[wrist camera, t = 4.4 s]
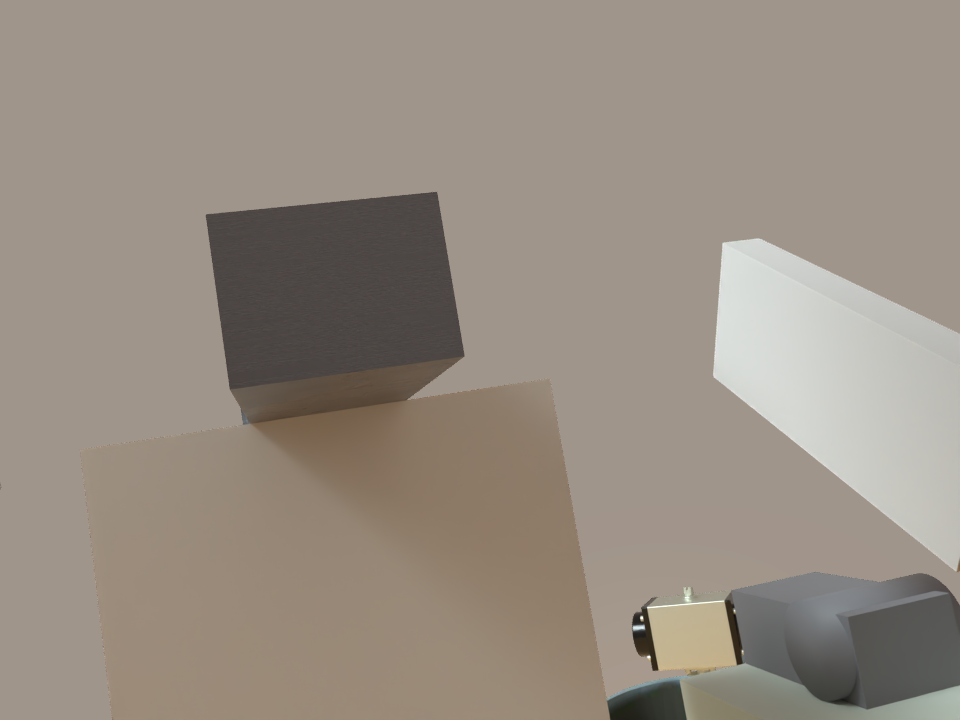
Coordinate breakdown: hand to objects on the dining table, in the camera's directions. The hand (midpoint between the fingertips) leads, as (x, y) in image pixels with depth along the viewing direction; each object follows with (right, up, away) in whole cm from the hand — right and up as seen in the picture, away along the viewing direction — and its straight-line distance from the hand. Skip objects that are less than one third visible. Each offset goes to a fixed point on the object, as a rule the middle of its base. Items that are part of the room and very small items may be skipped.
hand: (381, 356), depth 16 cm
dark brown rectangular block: (-3, -2, +9) cm, 10 cm away
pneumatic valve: (+25, -35, +72) cm, 84 cm away
